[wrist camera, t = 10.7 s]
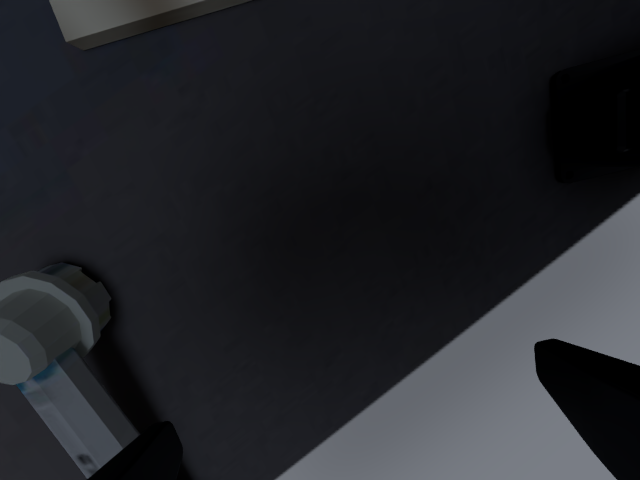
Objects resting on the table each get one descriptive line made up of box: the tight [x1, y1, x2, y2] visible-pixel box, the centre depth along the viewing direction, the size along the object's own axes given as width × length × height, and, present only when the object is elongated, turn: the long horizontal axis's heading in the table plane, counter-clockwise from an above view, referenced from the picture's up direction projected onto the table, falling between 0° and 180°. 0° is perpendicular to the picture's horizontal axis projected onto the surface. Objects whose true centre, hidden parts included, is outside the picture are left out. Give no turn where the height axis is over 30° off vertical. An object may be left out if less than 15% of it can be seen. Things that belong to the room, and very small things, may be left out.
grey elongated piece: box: [0, 262, 140, 479], centre depth 21 cm, size 5×7×25 cm
